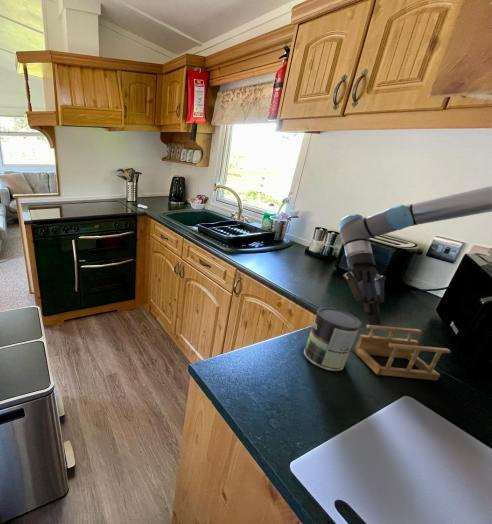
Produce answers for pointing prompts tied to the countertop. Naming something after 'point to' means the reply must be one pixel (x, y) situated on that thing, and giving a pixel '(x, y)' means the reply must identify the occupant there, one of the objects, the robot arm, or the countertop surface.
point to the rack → (397, 353)
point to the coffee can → (331, 338)
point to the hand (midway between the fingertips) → (375, 324)
